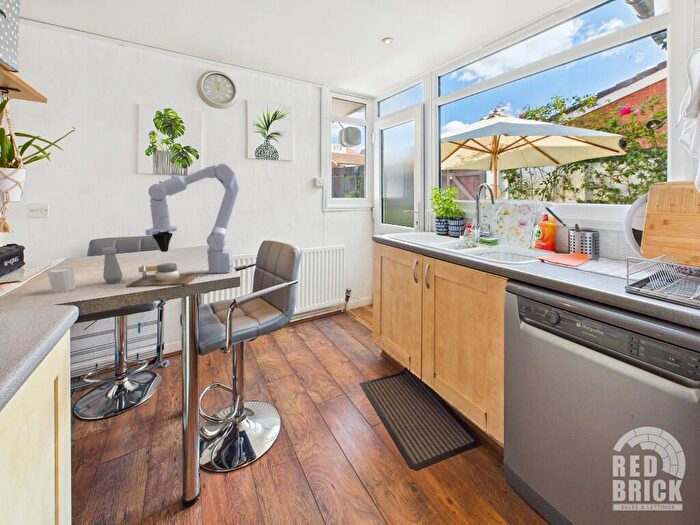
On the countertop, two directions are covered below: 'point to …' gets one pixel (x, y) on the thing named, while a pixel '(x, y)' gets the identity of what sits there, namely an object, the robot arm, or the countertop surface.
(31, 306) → the countertop surface
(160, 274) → the jar
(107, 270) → the salt shaker
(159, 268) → the lid
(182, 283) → the board
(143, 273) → the stop pin
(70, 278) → the grey tapered cup
